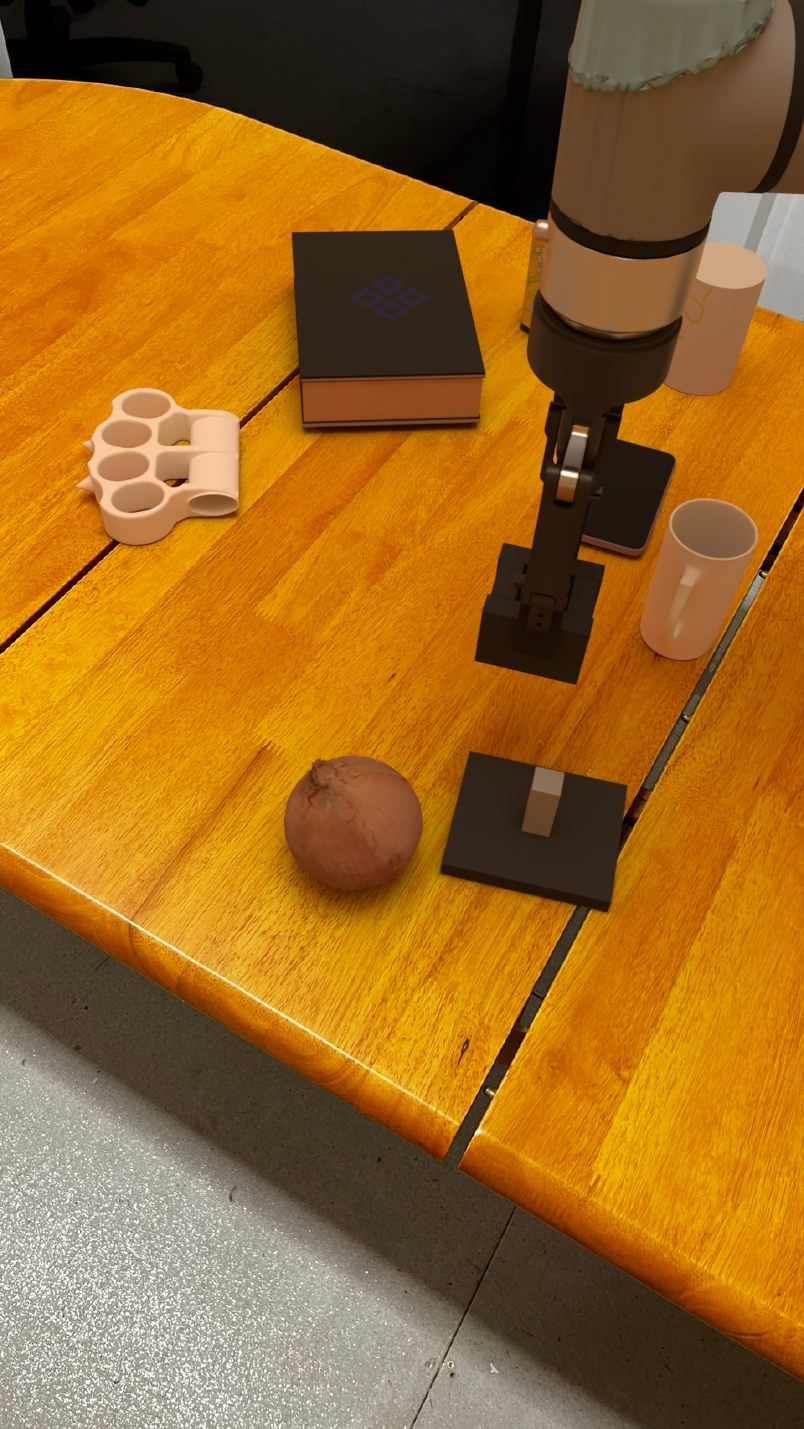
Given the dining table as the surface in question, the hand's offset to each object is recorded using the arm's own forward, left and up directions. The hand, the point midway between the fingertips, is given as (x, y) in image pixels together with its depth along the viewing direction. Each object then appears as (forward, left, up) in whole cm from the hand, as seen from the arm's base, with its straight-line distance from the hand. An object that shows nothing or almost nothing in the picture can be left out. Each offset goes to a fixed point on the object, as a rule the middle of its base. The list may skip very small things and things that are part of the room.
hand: (543, 610), depth 73 cm
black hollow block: (0, 0, -3) cm, 3 cm away
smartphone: (-5, -30, -15) cm, 34 cm away
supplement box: (+5, -55, -15) cm, 58 cm away
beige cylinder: (-10, -52, -15) cm, 55 cm away
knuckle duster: (+37, -21, -15) cm, 46 cm away
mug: (-11, -13, -15) cm, 23 cm away
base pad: (-3, +8, -15) cm, 17 cm away
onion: (+10, +13, -15) cm, 22 cm away
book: (+22, -45, -15) cm, 53 cm away
